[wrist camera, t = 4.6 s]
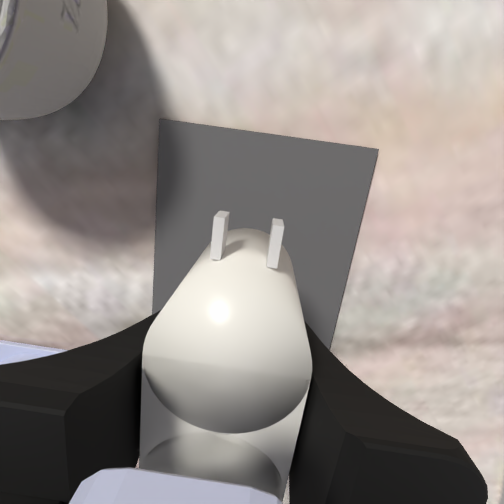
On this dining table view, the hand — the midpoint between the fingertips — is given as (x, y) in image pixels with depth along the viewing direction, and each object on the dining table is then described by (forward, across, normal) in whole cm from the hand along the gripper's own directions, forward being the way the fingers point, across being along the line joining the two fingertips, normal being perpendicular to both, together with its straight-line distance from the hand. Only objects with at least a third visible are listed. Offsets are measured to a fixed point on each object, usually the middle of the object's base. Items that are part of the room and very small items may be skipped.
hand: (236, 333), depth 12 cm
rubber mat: (+7, 0, 0) cm, 7 cm away
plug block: (+1, 0, 0) cm, 1 cm away
